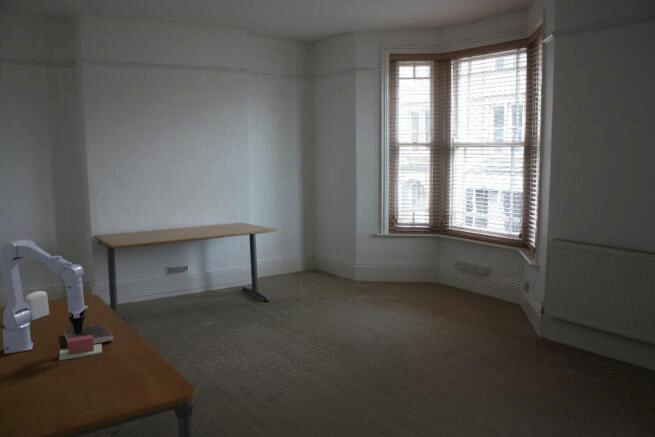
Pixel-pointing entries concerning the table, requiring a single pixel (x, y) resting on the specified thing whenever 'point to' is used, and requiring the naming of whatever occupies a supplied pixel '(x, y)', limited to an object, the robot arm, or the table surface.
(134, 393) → the table surface
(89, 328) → the picture frame
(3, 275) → the robot arm
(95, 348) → the sage mat
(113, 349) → the table surface
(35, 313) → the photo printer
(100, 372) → the table surface
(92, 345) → the card box
